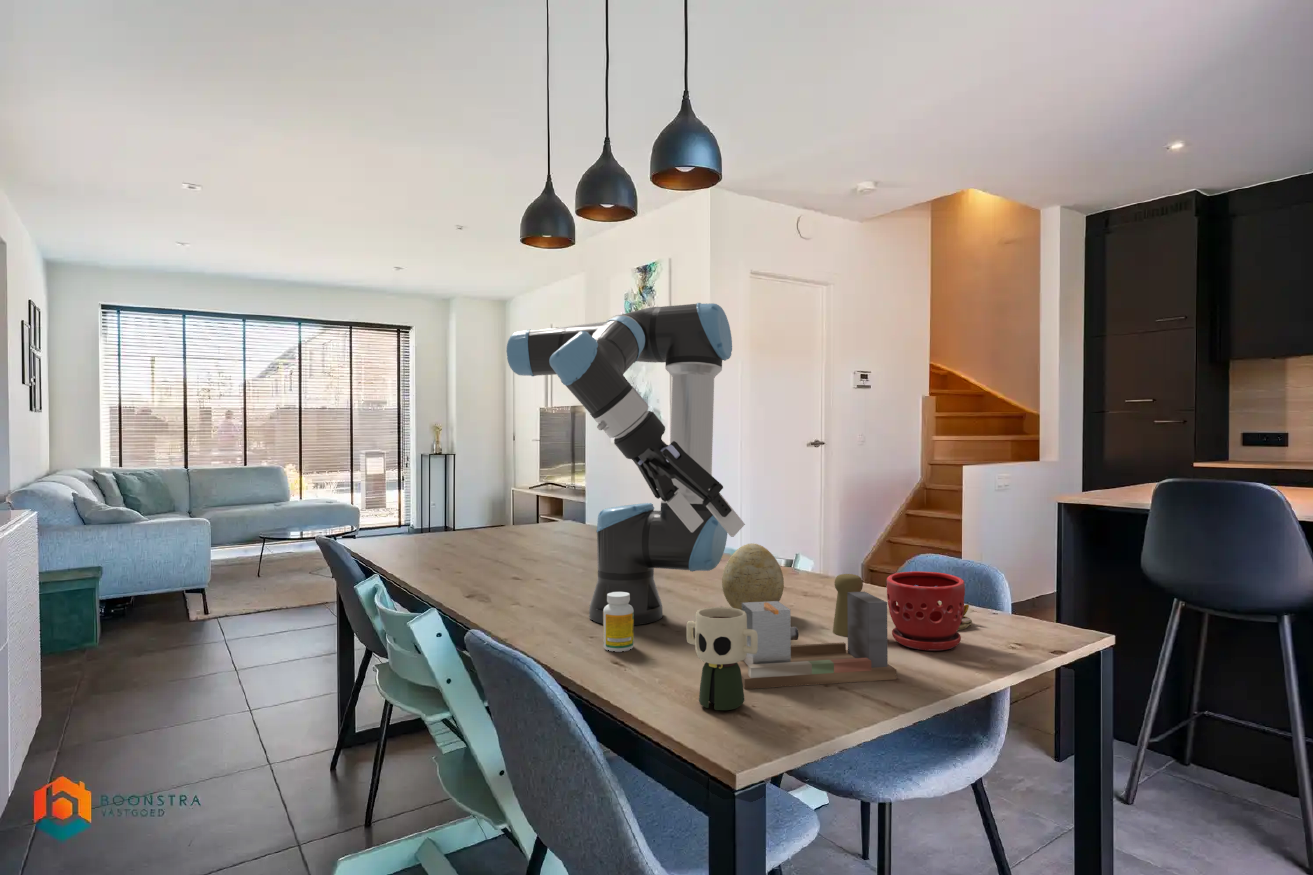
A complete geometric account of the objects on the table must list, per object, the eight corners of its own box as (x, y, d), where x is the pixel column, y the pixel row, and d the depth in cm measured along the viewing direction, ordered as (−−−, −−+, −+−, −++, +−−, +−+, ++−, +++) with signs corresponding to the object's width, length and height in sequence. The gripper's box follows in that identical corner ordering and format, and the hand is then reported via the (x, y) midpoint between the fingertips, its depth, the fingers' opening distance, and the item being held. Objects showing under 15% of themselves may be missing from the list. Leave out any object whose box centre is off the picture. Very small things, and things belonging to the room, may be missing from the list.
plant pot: (878, 634, 139) (878, 570, 139) (949, 634, 138) (949, 570, 138) (899, 655, 126) (898, 584, 126) (977, 655, 125) (977, 584, 125)
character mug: (674, 706, 103) (674, 613, 103) (699, 691, 109) (698, 603, 109) (746, 722, 97) (746, 623, 97) (768, 705, 103) (767, 611, 103)
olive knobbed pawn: (866, 637, 137) (866, 578, 137) (833, 636, 138) (832, 577, 138) (864, 629, 143) (863, 572, 143) (832, 627, 144) (831, 571, 144)
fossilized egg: (766, 606, 162) (766, 537, 162) (795, 620, 150) (794, 546, 150) (712, 611, 158) (712, 541, 158) (737, 625, 146) (737, 549, 146)
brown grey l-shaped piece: (725, 666, 121) (725, 595, 120) (865, 657, 124) (864, 589, 124) (744, 689, 110) (744, 611, 110) (896, 679, 114) (896, 604, 113)
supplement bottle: (599, 646, 133) (598, 592, 132) (626, 642, 135) (626, 589, 135) (610, 654, 128) (610, 598, 128) (638, 649, 130) (638, 595, 130)
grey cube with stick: (741, 658, 118) (741, 598, 118) (789, 656, 120) (789, 596, 120) (757, 675, 110) (757, 611, 110) (808, 672, 111) (808, 608, 111)
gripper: (587, 445, 121) (667, 540, 126) (645, 434, 98) (740, 551, 103) (619, 416, 124) (697, 510, 128) (683, 399, 101) (774, 514, 105)
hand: (716, 528), depth 115 cm, fingers open, 13 cm apart
